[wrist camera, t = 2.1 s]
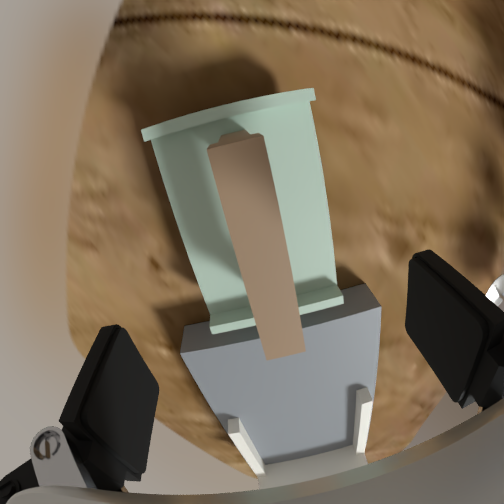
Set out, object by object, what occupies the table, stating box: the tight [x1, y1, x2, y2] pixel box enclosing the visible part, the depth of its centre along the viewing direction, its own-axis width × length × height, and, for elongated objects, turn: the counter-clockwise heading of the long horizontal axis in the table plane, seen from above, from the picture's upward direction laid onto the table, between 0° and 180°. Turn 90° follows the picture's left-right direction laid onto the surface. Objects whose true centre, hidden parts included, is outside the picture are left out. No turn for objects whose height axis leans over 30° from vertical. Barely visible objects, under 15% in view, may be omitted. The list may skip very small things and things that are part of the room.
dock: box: [180, 283, 381, 489], centre depth 24 cm, size 22×14×6 cm, turn 13°
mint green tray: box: [141, 88, 344, 360], centre depth 15 cm, size 12×8×8 cm, turn 13°
